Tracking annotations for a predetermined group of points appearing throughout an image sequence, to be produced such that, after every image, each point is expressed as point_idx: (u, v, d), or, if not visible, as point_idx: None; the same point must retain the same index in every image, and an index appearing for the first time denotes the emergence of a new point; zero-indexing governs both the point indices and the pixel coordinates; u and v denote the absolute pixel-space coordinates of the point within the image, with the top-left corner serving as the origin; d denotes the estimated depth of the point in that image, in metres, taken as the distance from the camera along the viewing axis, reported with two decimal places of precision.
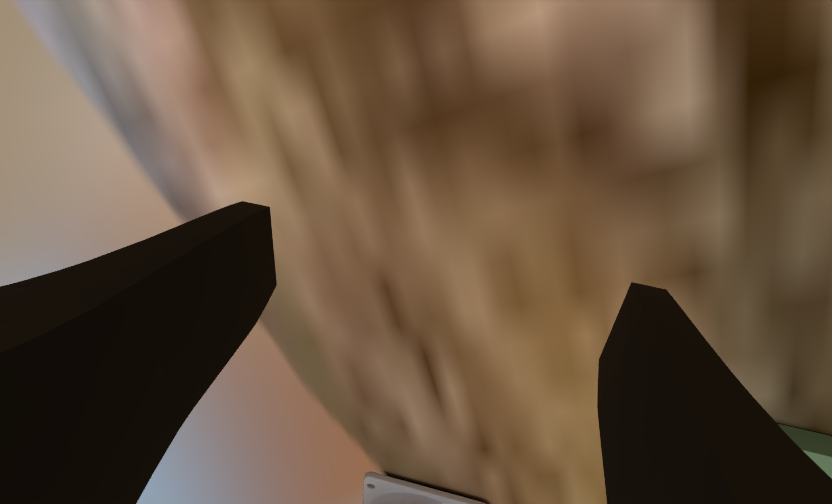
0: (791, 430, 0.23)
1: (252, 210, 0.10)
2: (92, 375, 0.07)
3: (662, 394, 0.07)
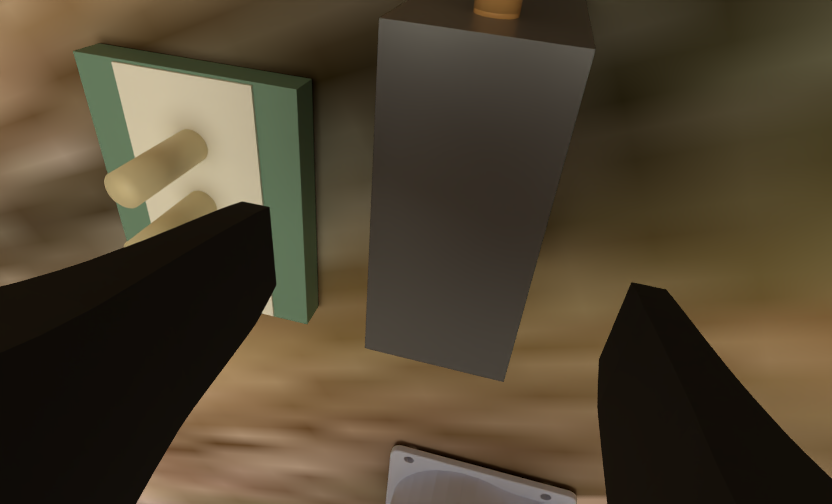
0: None
1: (252, 210, 0.10)
2: (92, 375, 0.07)
3: (662, 394, 0.07)
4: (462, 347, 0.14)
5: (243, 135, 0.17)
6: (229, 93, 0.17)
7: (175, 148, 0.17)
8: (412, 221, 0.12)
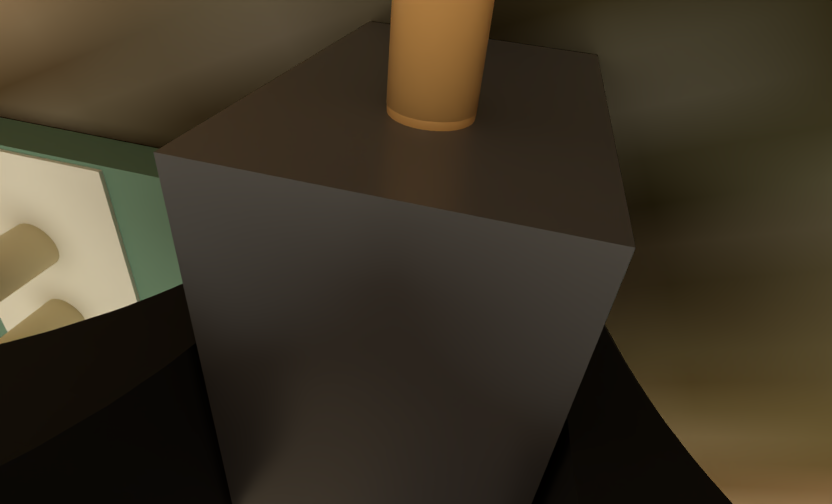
0: None
1: None
2: (199, 404, 0.06)
3: None
4: None
5: (103, 234, 0.12)
6: (73, 180, 0.11)
7: None
8: (291, 469, 0.07)
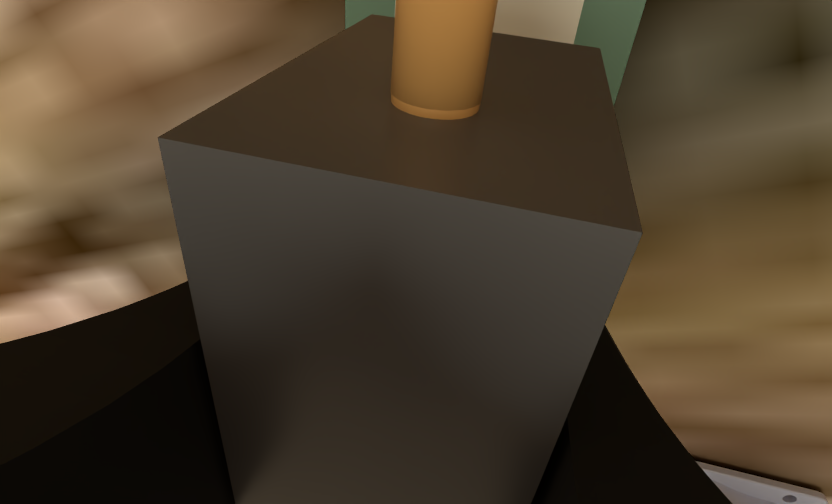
0: None
1: None
2: (199, 404, 0.06)
3: None
4: None
5: None
6: (549, 3, 0.14)
7: None
8: (293, 460, 0.07)
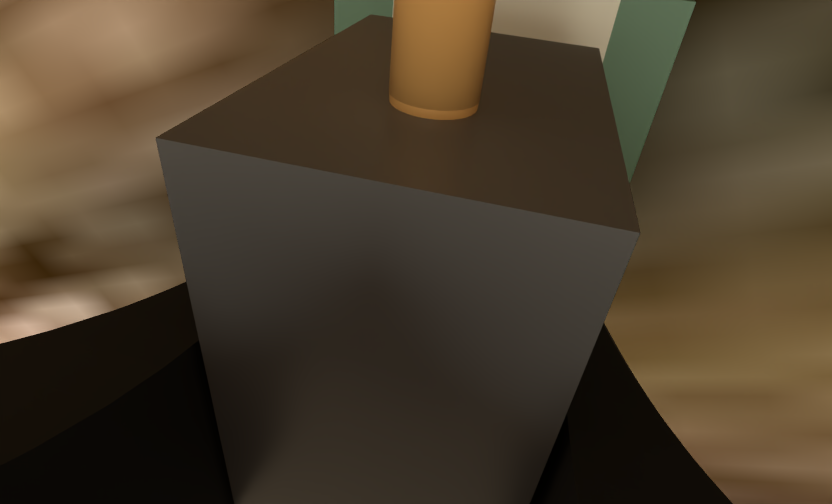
0: None
1: None
2: (199, 404, 0.06)
3: None
4: None
5: None
6: (575, 14, 0.11)
7: None
8: (292, 461, 0.07)
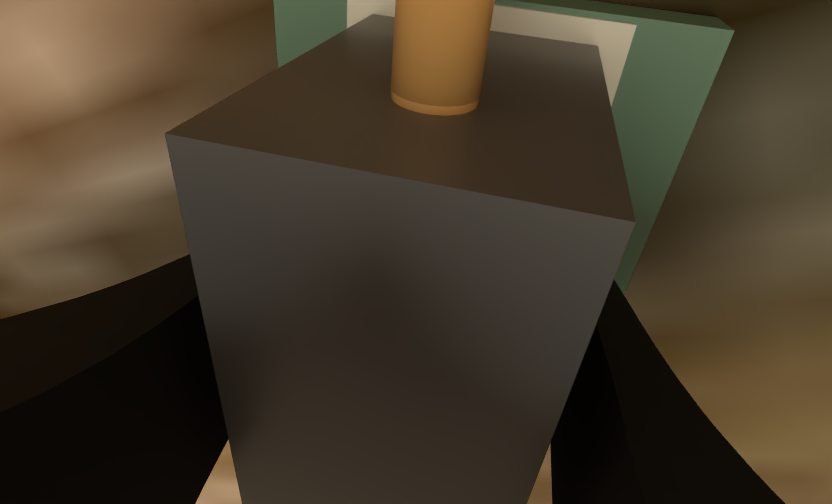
0: None
1: None
2: (155, 392, 0.07)
3: (595, 378, 0.07)
4: None
5: None
6: None
7: None
8: (297, 452, 0.07)
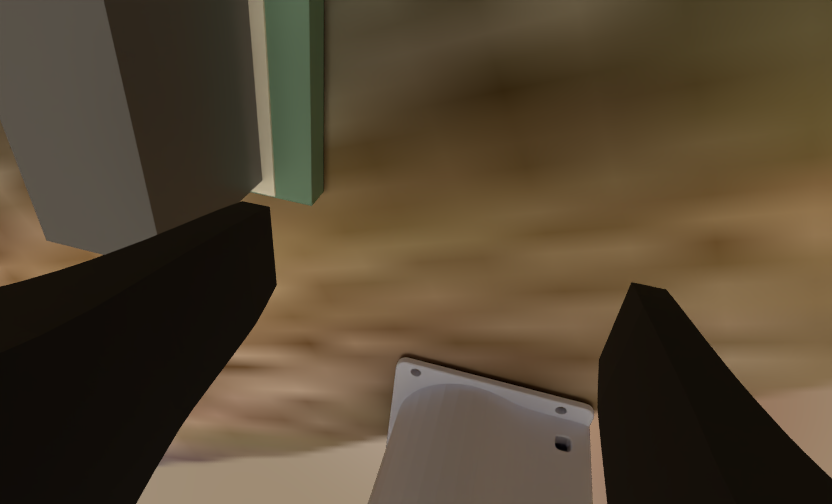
0: None
1: (252, 210, 0.10)
2: (92, 375, 0.07)
3: (662, 394, 0.07)
4: (119, 234, 0.15)
5: None
6: None
7: None
8: (25, 101, 0.13)
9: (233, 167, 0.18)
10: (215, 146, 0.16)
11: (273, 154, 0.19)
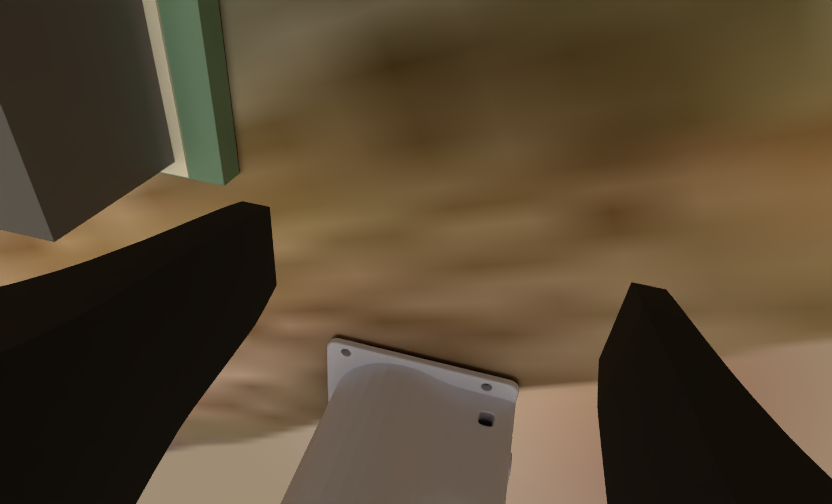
0: None
1: (252, 210, 0.10)
2: (92, 374, 0.07)
3: (662, 394, 0.07)
4: (6, 207, 0.15)
5: None
6: None
7: None
8: None
9: (135, 146, 0.18)
10: (108, 124, 0.17)
11: (182, 135, 0.20)
